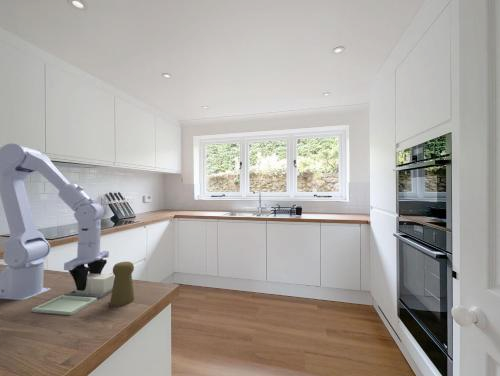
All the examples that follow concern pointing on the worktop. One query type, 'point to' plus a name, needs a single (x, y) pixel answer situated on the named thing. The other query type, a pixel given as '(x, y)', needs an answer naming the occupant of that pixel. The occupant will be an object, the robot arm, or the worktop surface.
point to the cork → (122, 284)
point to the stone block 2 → (101, 284)
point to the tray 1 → (65, 305)
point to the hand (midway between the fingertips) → (87, 286)
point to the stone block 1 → (87, 284)
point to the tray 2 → (72, 293)
